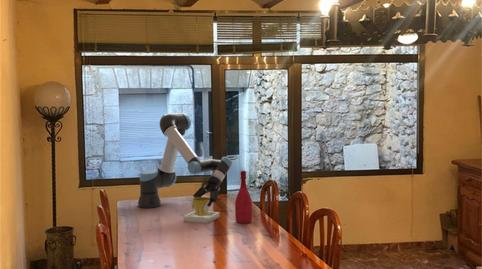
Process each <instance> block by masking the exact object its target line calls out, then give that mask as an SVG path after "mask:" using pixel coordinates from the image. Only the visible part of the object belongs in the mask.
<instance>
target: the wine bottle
mask: <svg viewBox="0 0 482 269" xmlns="http://www.w3.org/2000/svg"><path fill="white" fill-rule="evenodd" d="M246 181H247V171H246V170H241V171H240V188H239V190H238V193H237V195H236V197H235V203H234V206H235V207H234V213H235V217H234V218H235V222H236V223H239V224H249V223H251V222H252V220H253V200H252V197H251V195H250V192H249V190H248V187H247V182H246Z"/></svg>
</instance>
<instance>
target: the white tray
mask: <svg viewBox="0 0 482 269" xmlns="http://www.w3.org/2000/svg"><path fill="white" fill-rule="evenodd" d="M219 218H220V211H219V212H218V211H210V210H208V213H207V215H206V216H197V215H196V212H195V210H193V211H192V212H189V213H186V214H185V215H183V222H187V223H188V222H189V223H197V224H198V223H200V224H210V223H212V222H213V221H216V220H217V219H219Z"/></svg>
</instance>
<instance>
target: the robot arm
mask: <svg viewBox="0 0 482 269" xmlns="http://www.w3.org/2000/svg"><path fill="white" fill-rule="evenodd" d="M191 126H192V121H191V118H190V116H189V115H188V114H187V113H186V112H169V113H166V114H163V115H162V116H161V117H160V119H159V128H160V130H161V132H162V134H163V135H164V136H165V137H167V141H166V145H165V148H164V151H163V157H162V160H161V164H159V165H158V167H157V169H148V170H144V171H142V172H140V174H139V189H140V190H139V191H140V193H139V194H140V195H139V199H138V200H137V207H139V208H142V209H151V208H159V207H161V205H162V202H161V199H160V194H159V189H162V188H169V187H171V186H173V185H174V184H175V183H176V181H177V172H176V170H175V168H174V167H175V163H176V159H177V155H178V153H179V154H180V156H182V158H183V159H184V161H185V163H186V164H187V170H188V173H190V175H191V174H192V175H198V174H201V173H208V172H212V174H211V175H210V177H209V178H208V180H207V184H205V183H203V184H201V186H200V187H199V188H198V190H196V191H195V193H194V194H193V195H192V197H193V198H197V197H204V195H205V194H208V193H210V194H209V198H210V199H209V200H208V202H207V203H206V205H205V207H204V208H203V209H204V211H205V212H206V211H207V210H208V211H209V208H210V207H211V206H212V204H213V203H216V202H217V201H218V198H219V194H220V191H221V187H220V185H221V184H222V182H223V180H224V179H225V177H226V175H227V173H228V172H229V171H230V169H231V167H232V165H233V161H232V159H230V158H229V157H227V156H222V157H221V158H220V159H214V158H208V157H207V158H204V159H202V160H201V159H200V158H199V157H198V155H197V154H196V153H195V151H194V150H193V149H192V148H191V146H190V145H189V143H188V142H187V141H186V140H185V139H184V137H183V136H185V134H186V131H188V130H189V129H190V128H191ZM190 208H191V209H192V210H195V208H194V205H193V200H192V202H191V204H190Z"/></svg>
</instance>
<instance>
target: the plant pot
mask: <svg viewBox="0 0 482 269" xmlns="http://www.w3.org/2000/svg"><path fill="white" fill-rule="evenodd" d="M209 199H210V197H206V196H202V197H197V198H195V197H193V198H192V201H193V205H194V211H195V212H196V215H197V216H206V215H207V213H208V211H209V209H208V210H207V211H206V212H205V211H204V209H203V208H204V207H205V205H206V203H207V202H208V200H209Z"/></svg>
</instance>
